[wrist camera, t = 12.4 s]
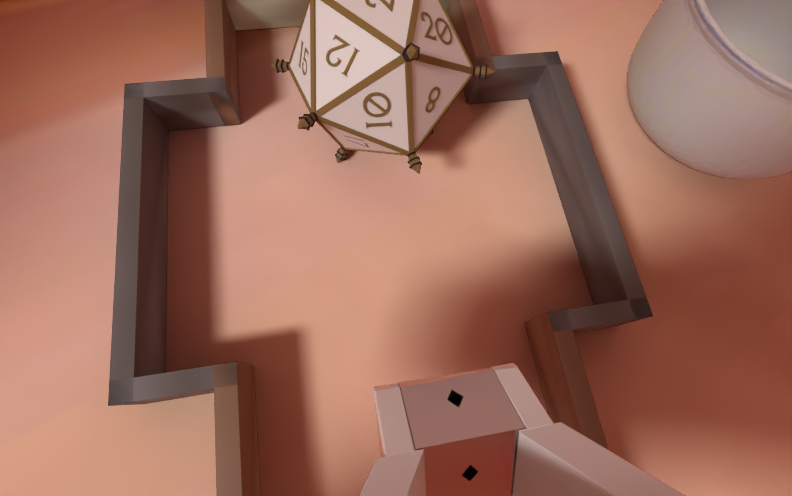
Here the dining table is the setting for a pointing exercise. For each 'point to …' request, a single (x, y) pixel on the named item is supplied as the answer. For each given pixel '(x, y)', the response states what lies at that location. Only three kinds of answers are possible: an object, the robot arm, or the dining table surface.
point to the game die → (378, 72)
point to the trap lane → (219, 106)
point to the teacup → (717, 85)
